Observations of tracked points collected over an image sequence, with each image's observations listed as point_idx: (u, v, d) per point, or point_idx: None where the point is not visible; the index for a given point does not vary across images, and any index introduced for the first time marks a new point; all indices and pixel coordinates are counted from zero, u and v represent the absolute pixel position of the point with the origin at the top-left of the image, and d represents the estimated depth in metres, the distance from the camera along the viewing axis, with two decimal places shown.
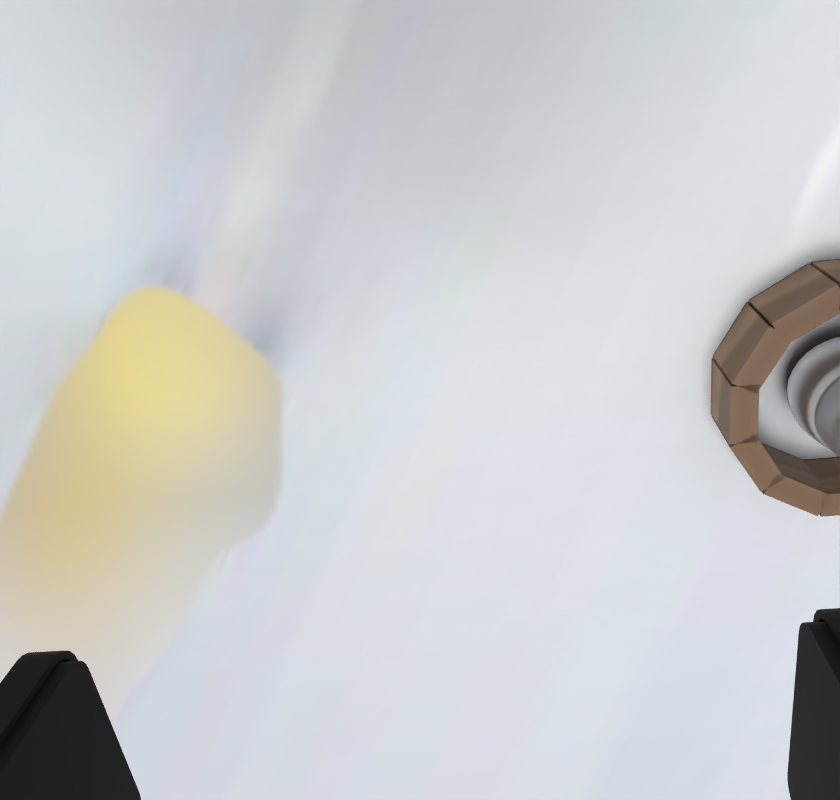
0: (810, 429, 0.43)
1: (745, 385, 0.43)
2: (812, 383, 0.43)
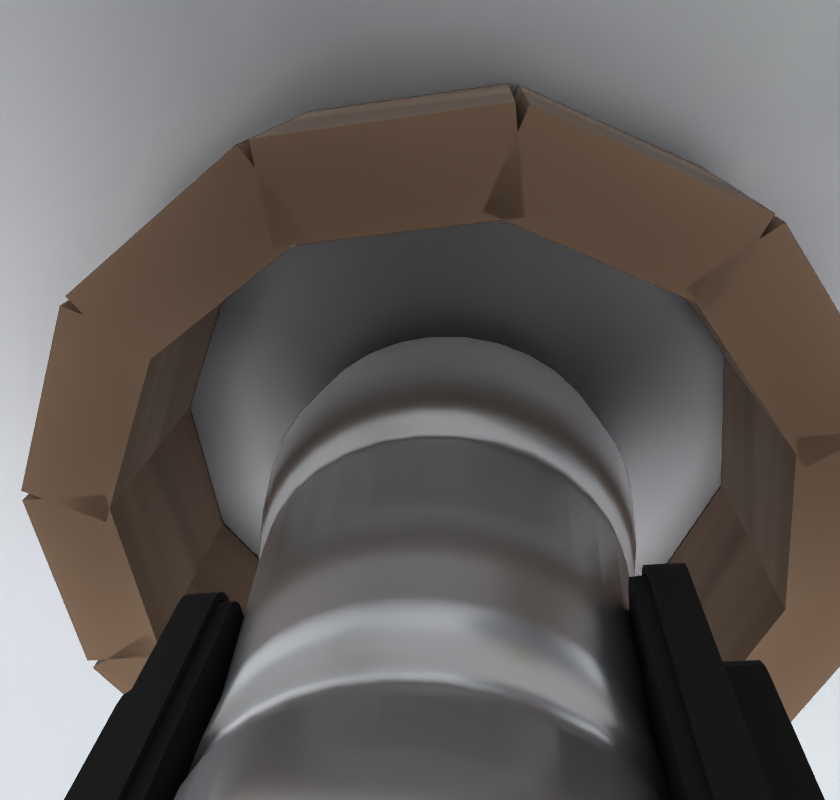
0: None
1: (63, 496, 0.13)
2: (269, 493, 0.13)
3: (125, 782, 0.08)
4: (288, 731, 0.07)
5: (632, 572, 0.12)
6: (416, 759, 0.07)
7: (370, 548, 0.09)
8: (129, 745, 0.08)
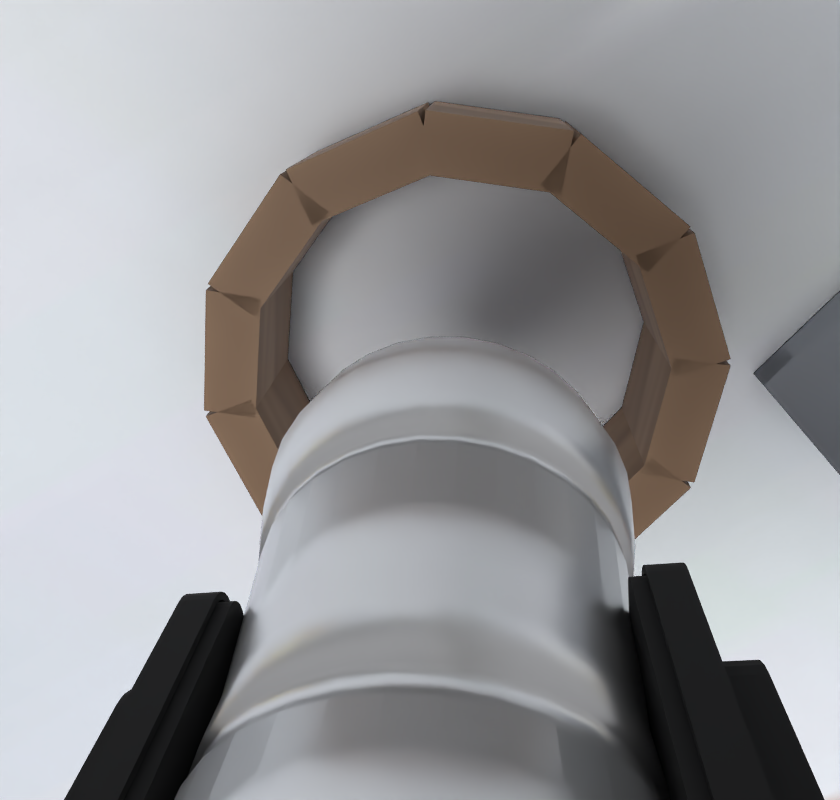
0: None
1: (305, 193, 0.20)
2: (269, 493, 0.13)
3: (125, 783, 0.08)
4: (289, 730, 0.07)
5: (631, 571, 0.12)
6: (416, 757, 0.07)
7: (370, 548, 0.09)
8: (129, 745, 0.08)
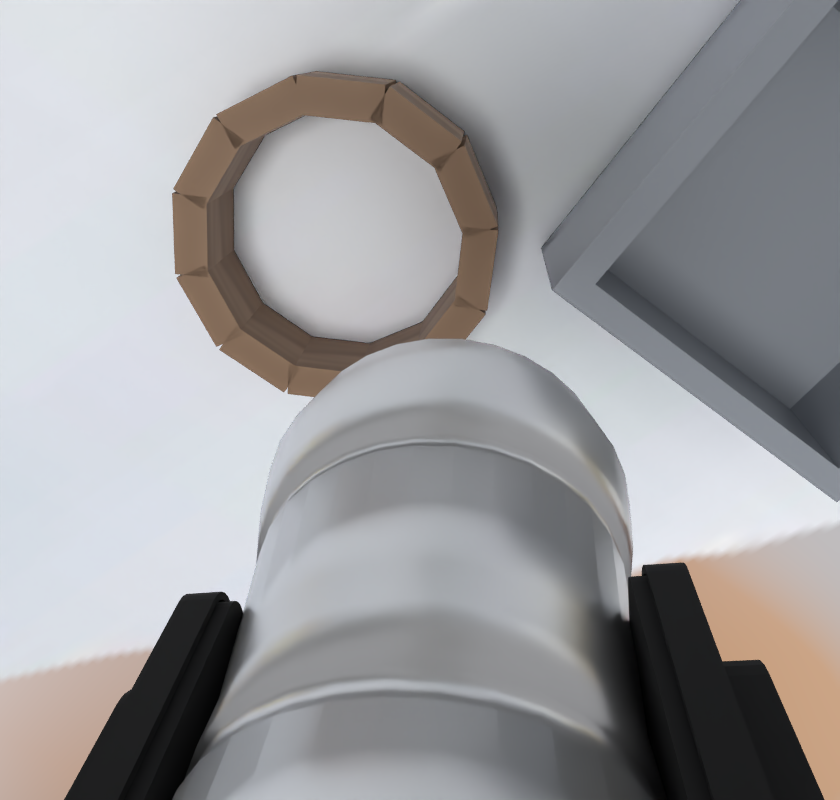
0: None
1: (229, 128, 0.33)
2: (266, 495, 0.13)
3: (126, 783, 0.08)
4: (285, 734, 0.07)
5: (629, 574, 0.12)
6: (411, 761, 0.07)
7: (367, 550, 0.09)
8: (129, 745, 0.08)
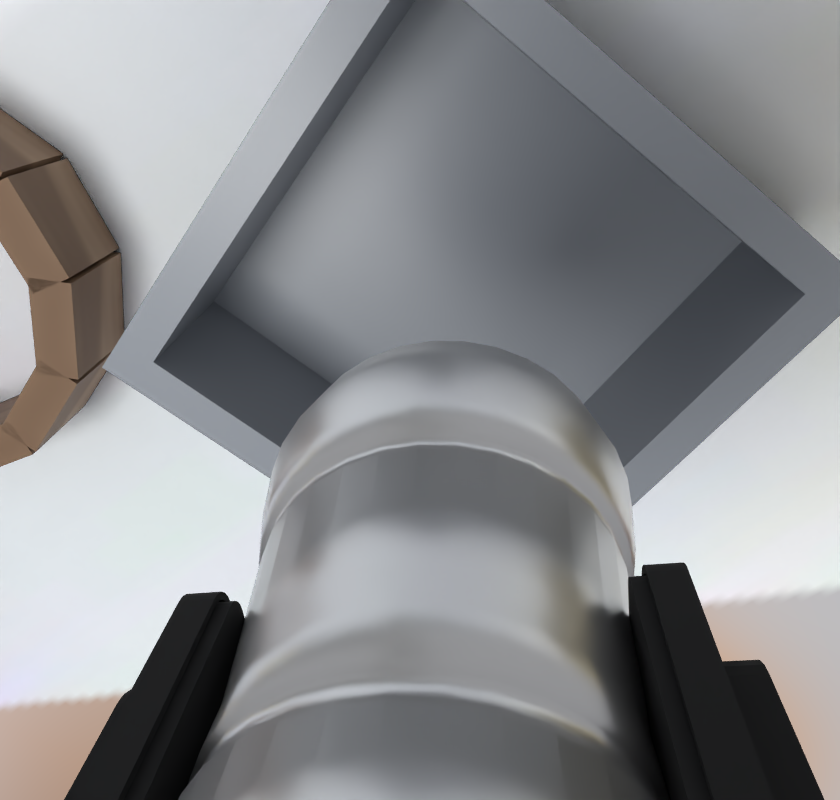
0: None
1: None
2: (269, 497, 0.13)
3: (126, 783, 0.08)
4: (289, 739, 0.07)
5: (632, 576, 0.12)
6: (416, 766, 0.07)
7: (370, 554, 0.09)
8: (129, 745, 0.08)
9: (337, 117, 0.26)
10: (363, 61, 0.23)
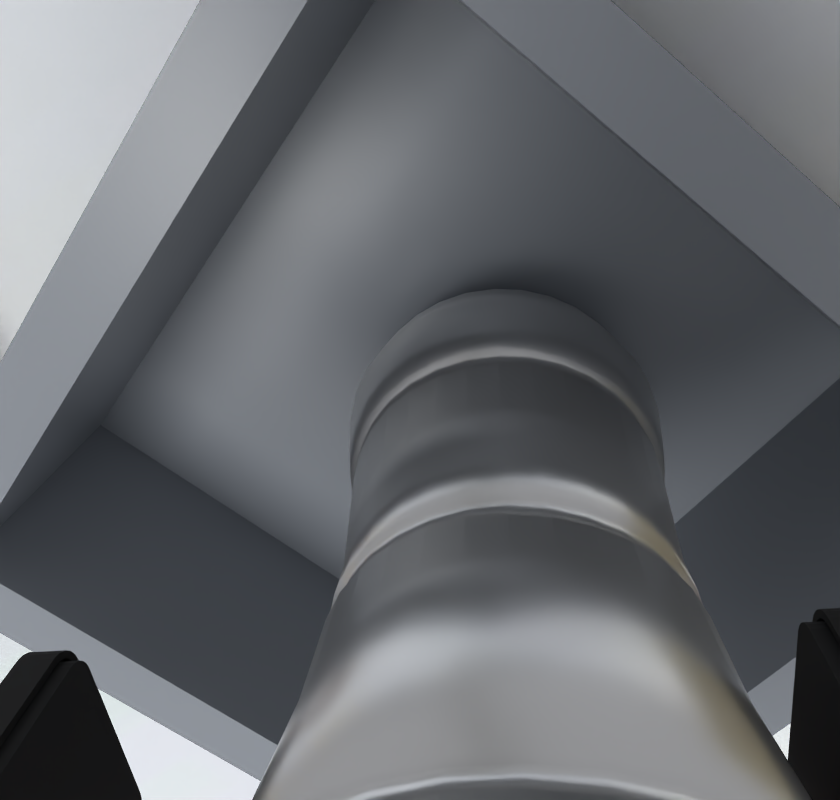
0: None
1: None
2: (360, 410, 0.16)
3: None
4: (438, 537, 0.10)
5: (663, 482, 0.15)
6: (538, 552, 0.09)
7: (473, 432, 0.12)
8: None
9: (265, 171, 0.18)
10: (289, 92, 0.14)
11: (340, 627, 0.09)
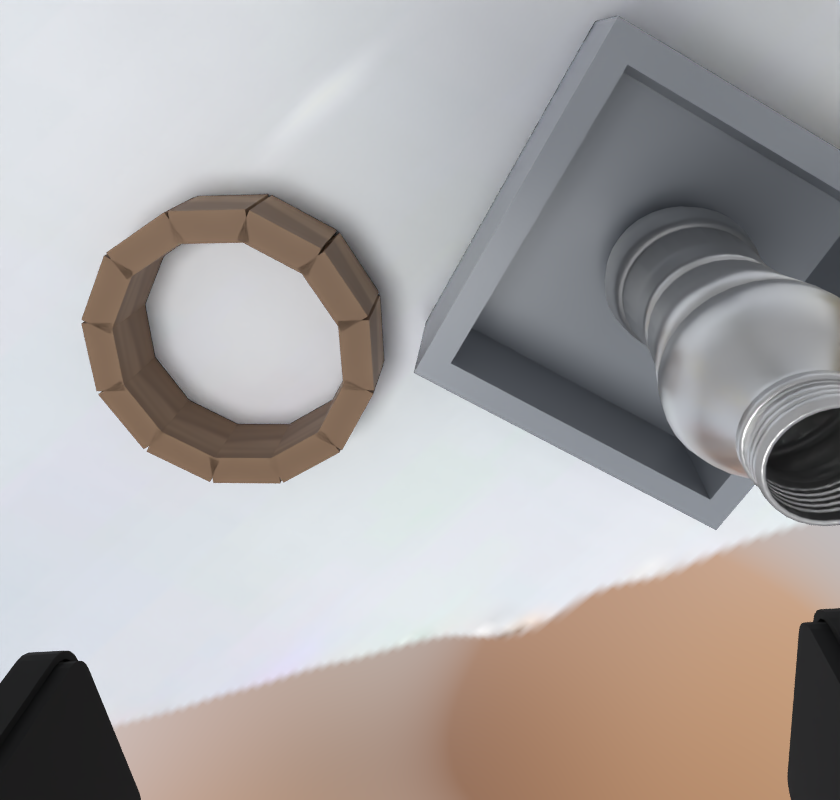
0: (626, 327, 0.35)
1: (119, 263, 0.37)
2: (617, 269, 0.34)
3: None
4: (693, 271, 0.28)
5: None
6: None
7: (688, 249, 0.30)
8: None
9: None
10: None
11: (666, 303, 0.28)
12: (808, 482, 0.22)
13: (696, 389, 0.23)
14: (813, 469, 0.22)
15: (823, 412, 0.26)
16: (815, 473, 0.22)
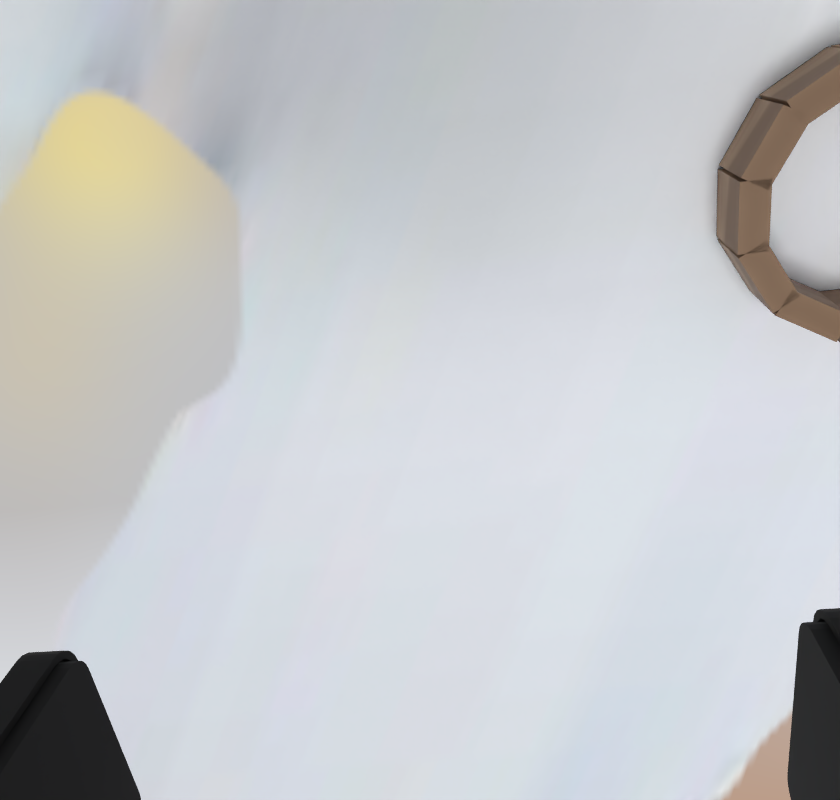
0: None
1: (756, 179, 0.38)
2: None
3: None
4: None
5: None
6: None
7: None
8: None
9: None
10: None
11: None
12: None
13: None
14: None
15: None
16: None
